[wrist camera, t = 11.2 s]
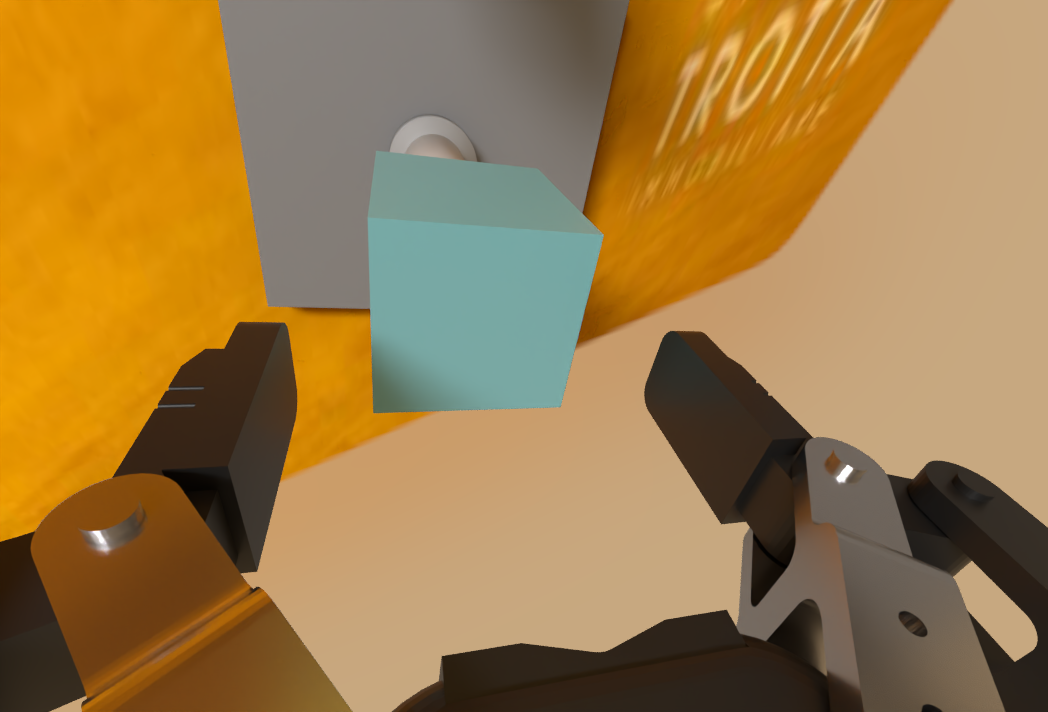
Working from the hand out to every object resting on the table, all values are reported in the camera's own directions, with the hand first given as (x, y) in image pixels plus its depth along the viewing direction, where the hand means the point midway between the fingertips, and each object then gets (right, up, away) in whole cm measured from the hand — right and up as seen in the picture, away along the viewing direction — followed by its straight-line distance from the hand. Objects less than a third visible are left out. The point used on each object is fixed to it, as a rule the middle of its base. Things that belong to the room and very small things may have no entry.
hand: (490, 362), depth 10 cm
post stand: (-5, +12, +16) cm, 21 cm away
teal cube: (-2, +4, +6) cm, 7 cm away
